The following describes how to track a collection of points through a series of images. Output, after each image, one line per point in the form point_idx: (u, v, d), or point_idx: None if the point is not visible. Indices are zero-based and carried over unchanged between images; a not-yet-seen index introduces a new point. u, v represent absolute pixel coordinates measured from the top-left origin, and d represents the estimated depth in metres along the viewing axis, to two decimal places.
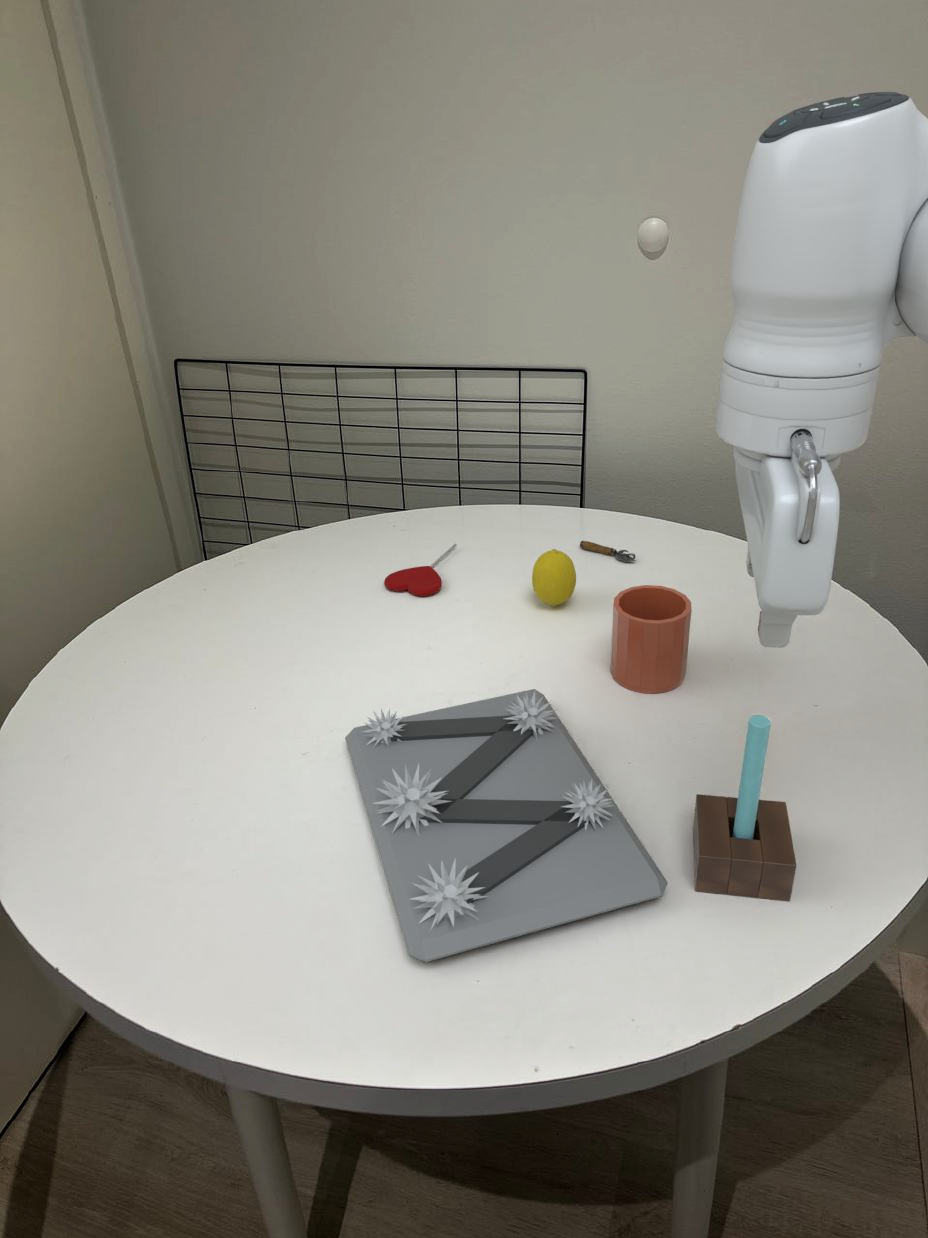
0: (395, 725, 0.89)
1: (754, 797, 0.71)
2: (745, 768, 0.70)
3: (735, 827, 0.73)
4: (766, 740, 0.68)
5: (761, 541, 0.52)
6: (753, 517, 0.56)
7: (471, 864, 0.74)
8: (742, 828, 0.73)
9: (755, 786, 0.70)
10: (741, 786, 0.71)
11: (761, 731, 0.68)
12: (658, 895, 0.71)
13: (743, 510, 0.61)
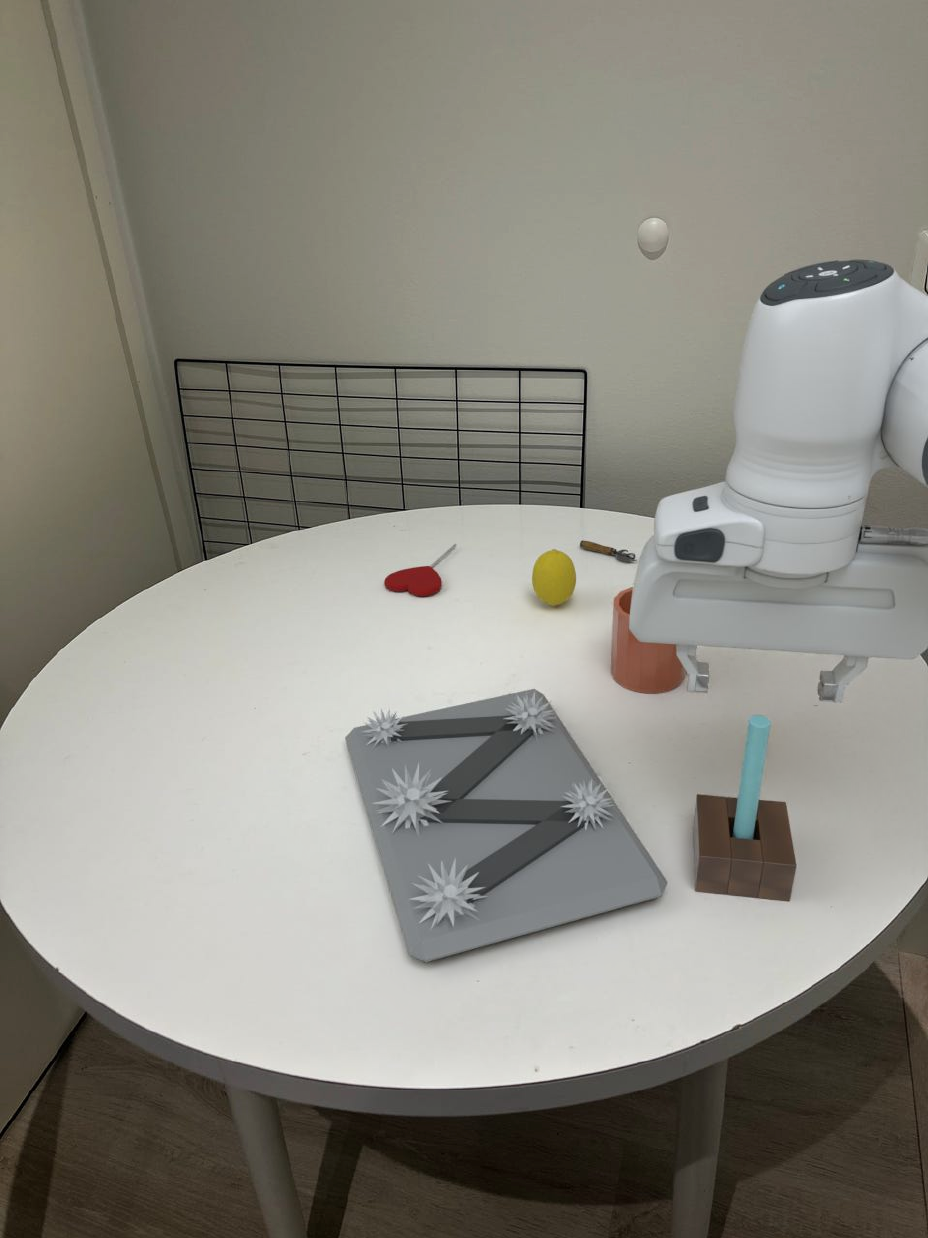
0: (395, 725, 0.89)
1: (754, 797, 0.71)
2: (745, 768, 0.70)
3: (735, 827, 0.73)
4: (766, 740, 0.68)
5: (887, 617, 0.60)
6: (814, 620, 0.61)
7: (471, 864, 0.74)
8: (742, 828, 0.73)
9: (755, 786, 0.70)
10: (741, 786, 0.71)
11: (761, 731, 0.68)
12: (658, 895, 0.71)
13: (732, 638, 0.63)
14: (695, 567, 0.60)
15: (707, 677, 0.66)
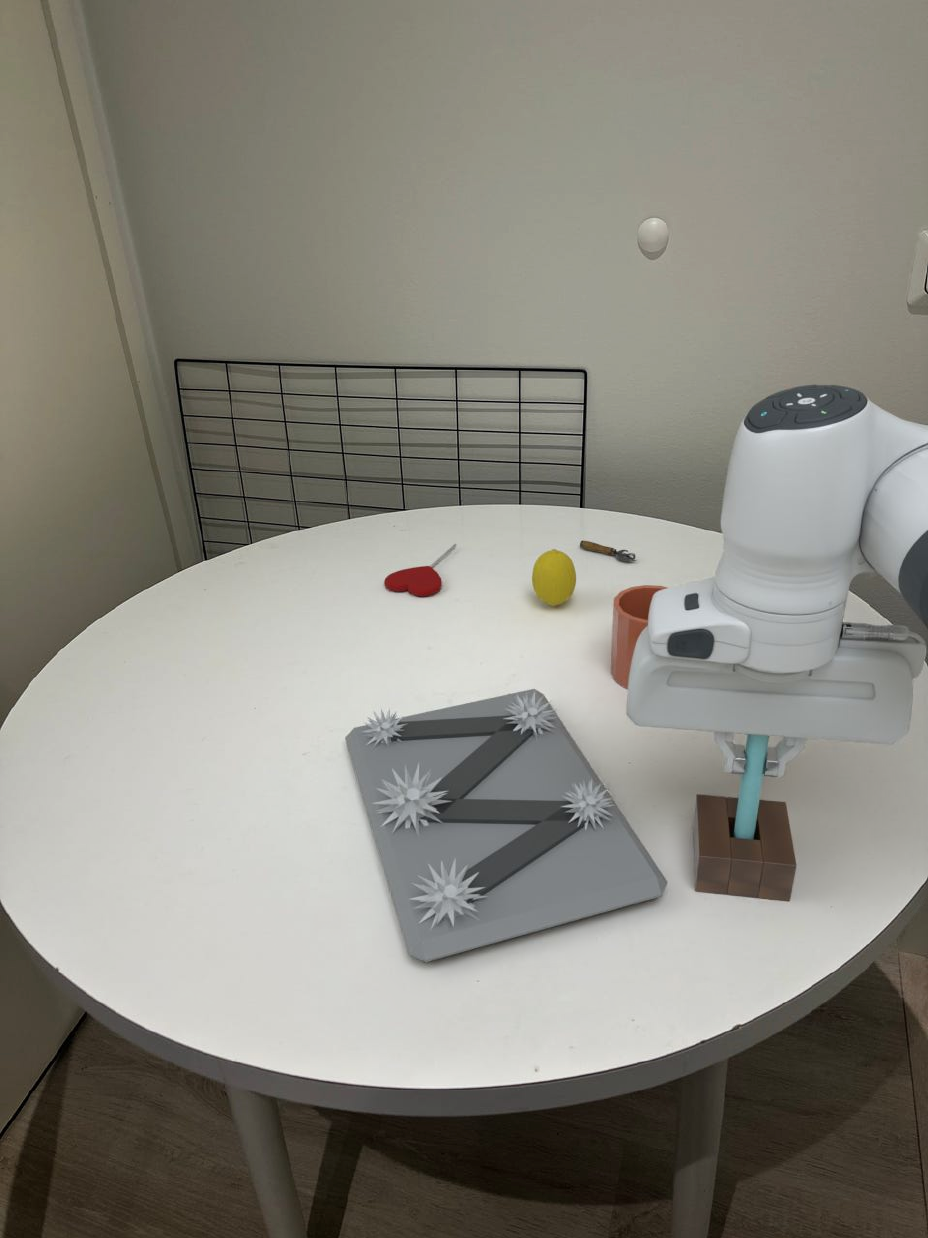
0: (395, 725, 0.89)
1: (755, 797, 0.71)
2: (745, 768, 0.70)
3: (736, 827, 0.73)
4: (767, 740, 0.68)
5: (868, 707, 0.64)
6: (800, 709, 0.65)
7: (471, 864, 0.74)
8: (743, 828, 0.73)
9: (756, 786, 0.70)
10: (742, 786, 0.71)
11: None
12: (658, 895, 0.71)
13: (723, 723, 0.67)
14: (687, 662, 0.64)
15: (744, 760, 0.69)
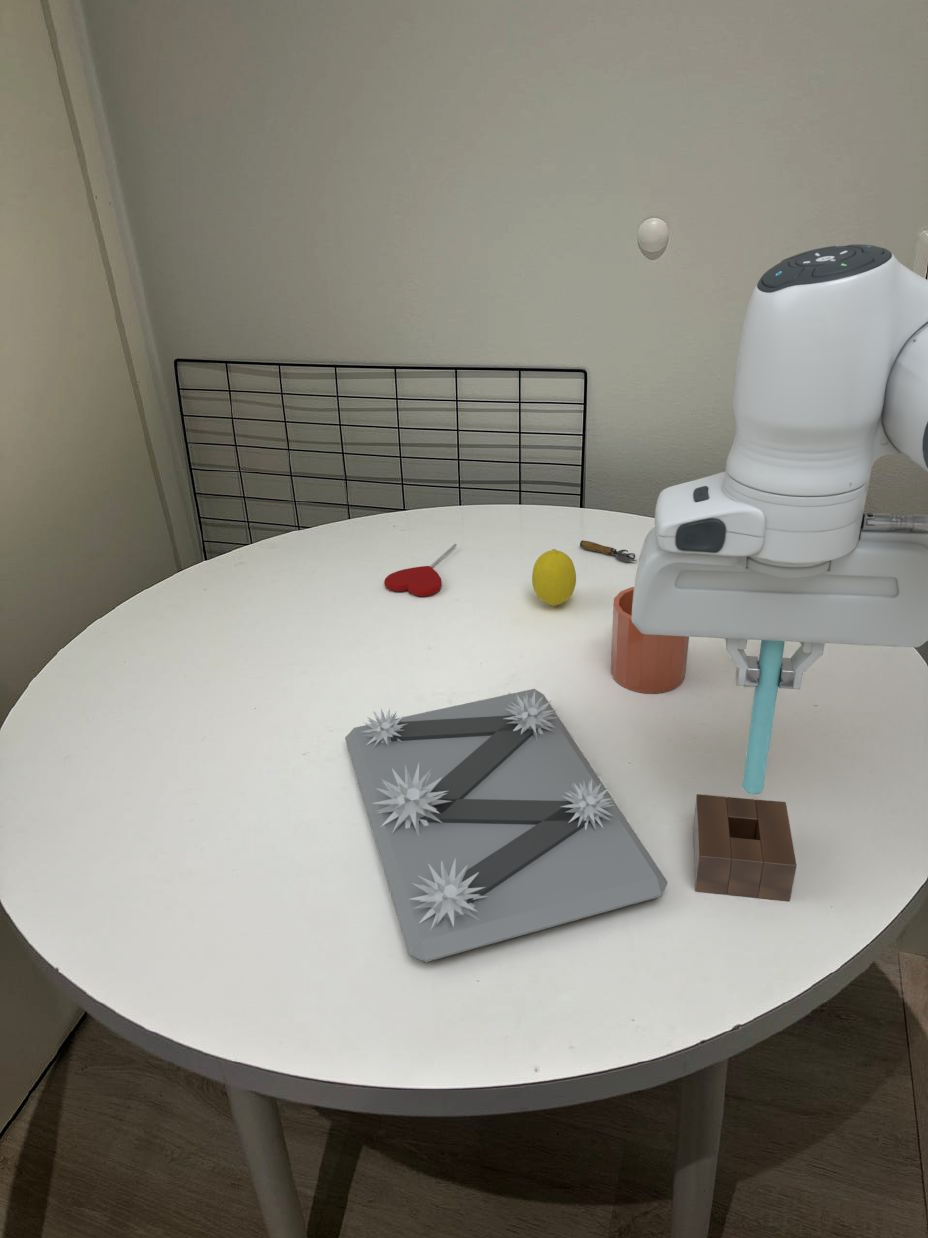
0: (395, 725, 0.89)
1: (769, 712, 0.67)
2: (759, 681, 0.66)
3: (749, 747, 0.69)
4: (782, 648, 0.64)
5: (891, 605, 0.59)
6: (818, 609, 0.61)
7: (471, 864, 0.74)
8: (756, 748, 0.69)
9: (770, 700, 0.66)
10: (755, 701, 0.67)
11: None
12: (658, 895, 0.71)
13: (736, 628, 0.62)
14: (696, 558, 0.59)
15: (757, 671, 0.65)
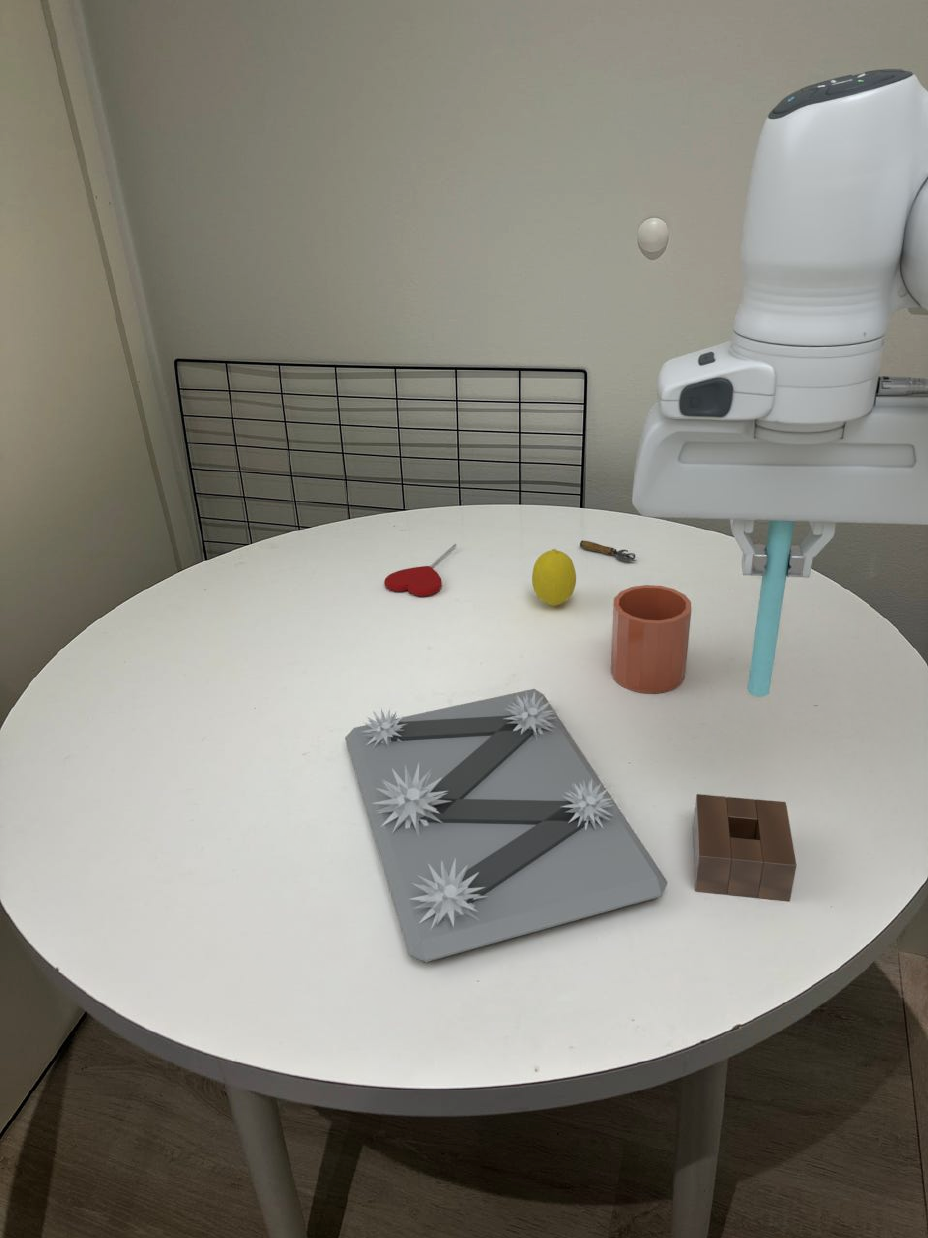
0: (395, 725, 0.89)
1: (776, 604, 0.63)
2: (766, 569, 0.62)
3: (755, 645, 0.66)
4: (791, 531, 0.61)
5: (908, 476, 0.56)
6: (830, 483, 0.57)
7: (471, 864, 0.74)
8: (763, 644, 0.65)
9: (778, 590, 0.63)
10: (762, 592, 0.63)
11: None
12: (658, 895, 0.71)
13: (742, 507, 0.59)
14: (701, 426, 0.56)
15: (765, 557, 0.62)
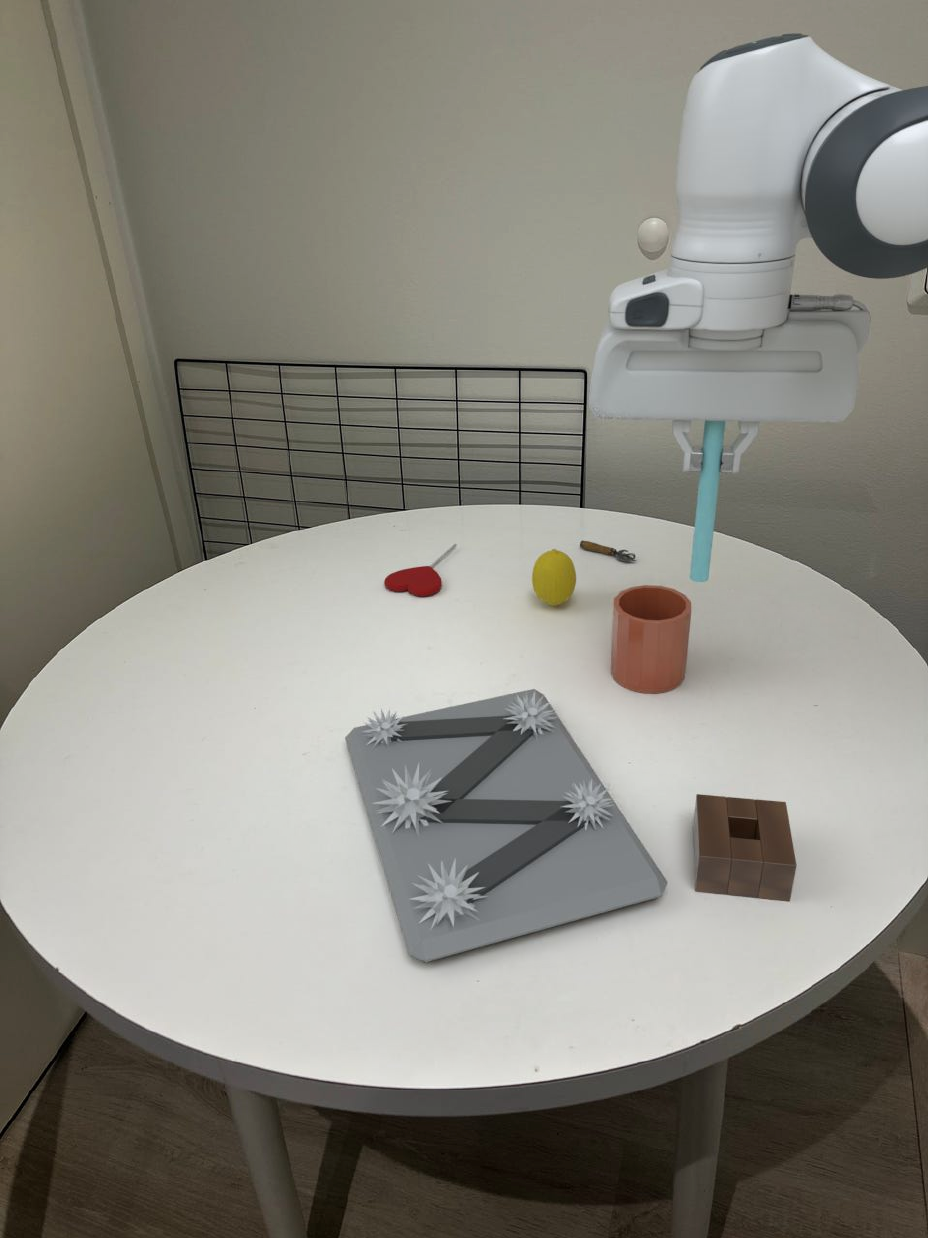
0: (395, 725, 0.89)
1: (712, 497, 0.74)
2: (702, 466, 0.73)
3: (694, 535, 0.77)
4: (722, 431, 0.72)
5: (816, 379, 0.67)
6: (752, 386, 0.68)
7: (471, 864, 0.74)
8: (701, 534, 0.76)
9: (712, 484, 0.74)
10: (699, 487, 0.74)
11: None
12: (658, 895, 0.71)
13: (680, 408, 0.70)
14: (644, 335, 0.67)
15: (700, 454, 0.72)
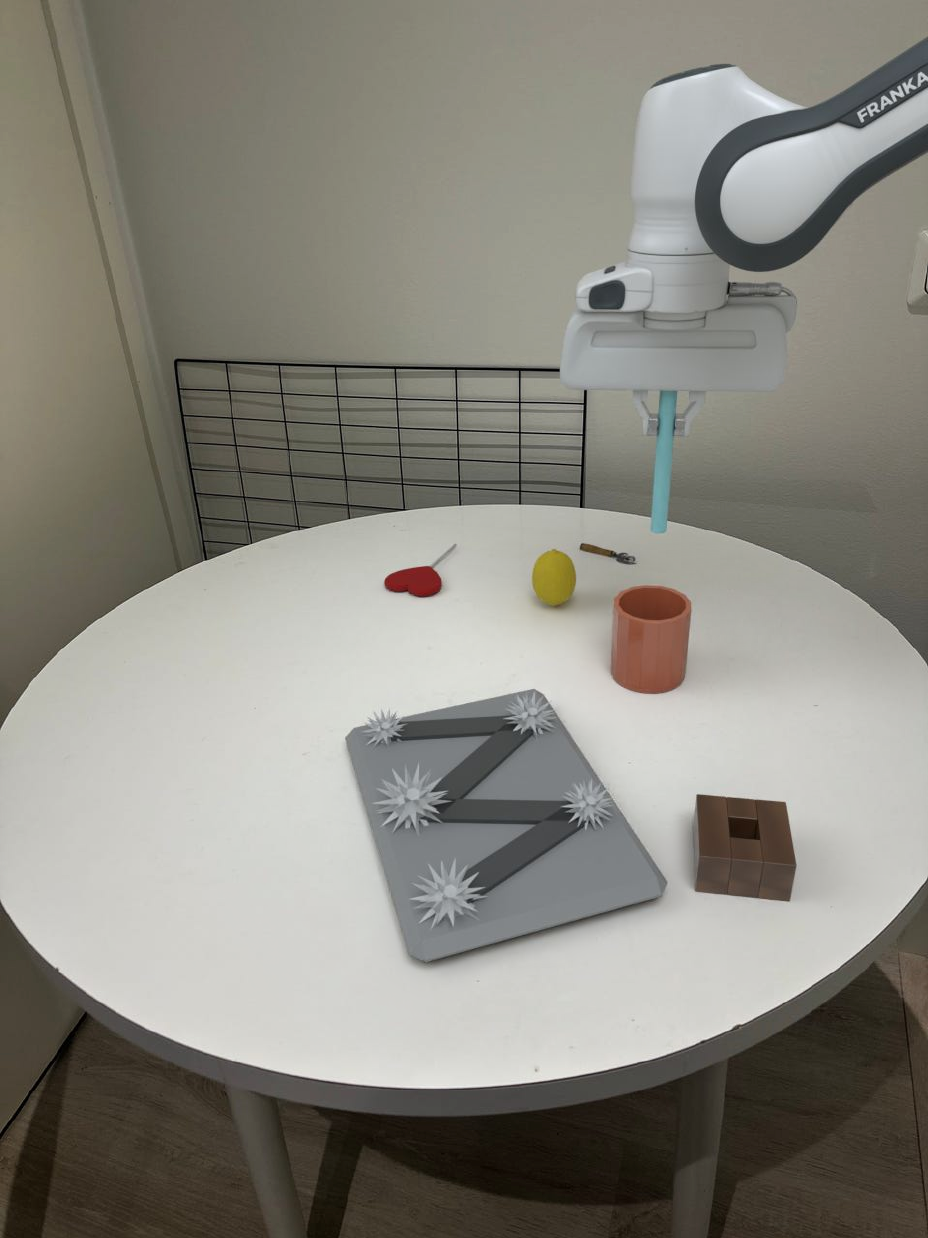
0: (395, 725, 0.89)
1: (667, 458, 0.86)
2: (658, 430, 0.85)
3: (653, 492, 0.89)
4: (674, 400, 0.83)
5: (751, 354, 0.79)
6: (698, 360, 0.80)
7: (471, 864, 0.74)
8: (659, 490, 0.88)
9: (667, 446, 0.85)
10: (656, 449, 0.86)
11: None
12: (658, 895, 0.71)
13: (638, 380, 0.82)
14: (605, 317, 0.79)
15: (656, 420, 0.84)
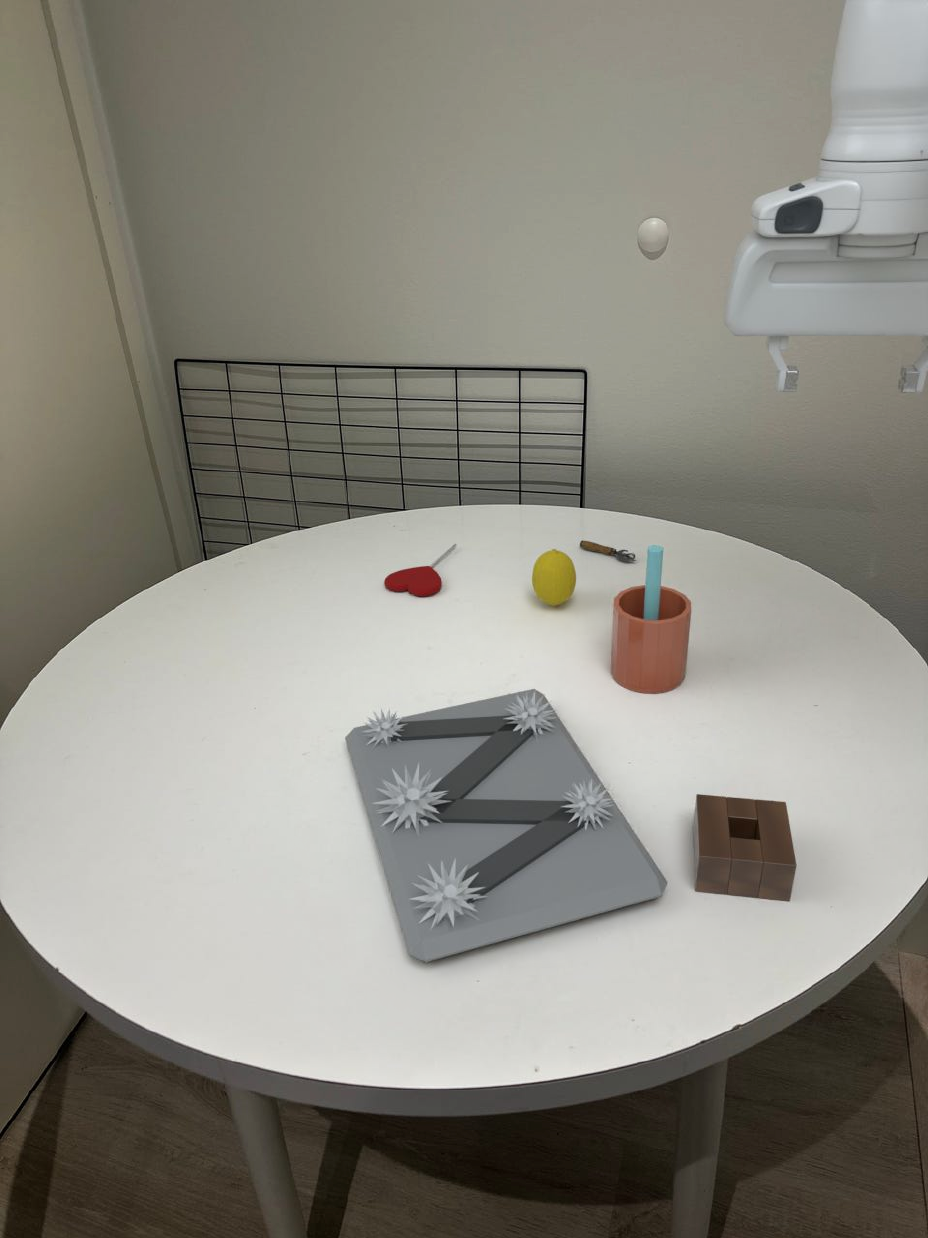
0: (395, 725, 0.89)
1: (654, 610, 0.96)
2: (646, 586, 0.95)
3: None
4: (660, 562, 0.93)
5: None
6: (901, 297, 0.66)
7: (471, 864, 0.74)
8: None
9: (654, 600, 0.95)
10: (645, 602, 0.96)
11: (656, 555, 0.92)
12: (658, 895, 0.71)
13: (823, 323, 0.68)
14: (792, 243, 0.65)
15: (796, 373, 0.71)
